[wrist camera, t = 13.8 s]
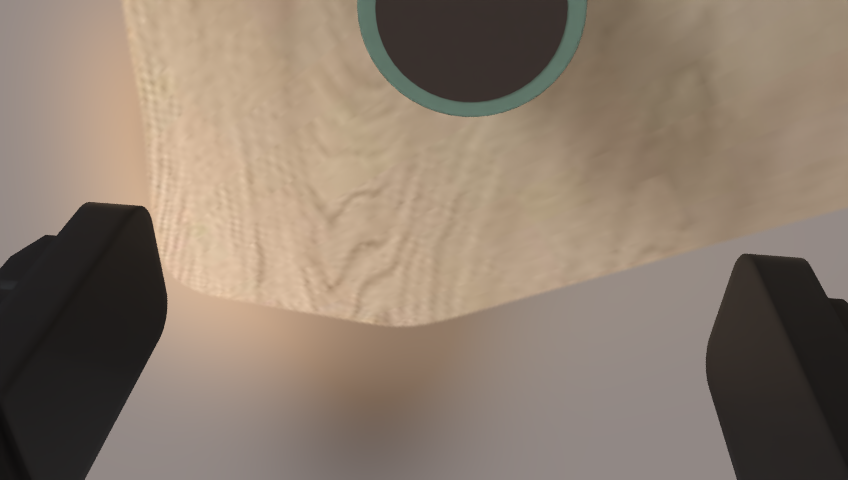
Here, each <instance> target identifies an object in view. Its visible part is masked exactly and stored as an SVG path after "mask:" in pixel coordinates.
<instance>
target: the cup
mask: <svg viewBox="0 0 848 480" xmlns="http://www.w3.org/2000/svg"><path fill="white" fill-rule="evenodd" d="M357 12H358V22H359V26H360V31H361V35H362V38H363V41H364V44H365V46H366V49H367V51H368V53H369V55H370V57H371V59H372V61H373V62H374V64H375V65H376V67H377V68H378V70H379V71H380V72H381V74H382V75H383V76H384V77H385V78H386V79H387V81H388V82H389V83H390V84H391V85H392V86H394V87H395V88H396V89H397V90H398V91H399V92H400V93H402V94H403V95H405V96H406V97H408V98H409V99H410V100H412V101H414V102H416V103H418V104H419V105H421V106H423V107H426V108H428V109H431V110H434V111H436V112H440V113H444V114H448V115H454V116H462V117H480V116H489V115H494V114H498V113H503V112H506V111H509V110H512V109H514V108H517V107H519V106H521V105H523V104H525V103H527V102H529V101H531V100H532V99H534V98H535V97H537V96H538V95H540V94H541V93H542V92H544V91H545V90H546V89H547V88H548V87H549V86H551V85H552V84H553V83H554V82H555V81H556V79H557V78H558V77H559V76H560V75H561V74H562V73H563V71H564V70H565V68H566V67H567V66H568V64H569V63H570V61H571V59H572V57H573V56H574V54H575V52H576V50H577V48H578V45H579V42H580V40H581V37H582V34H583V30H584V26H585V21H586V13H587V0H357Z"/></svg>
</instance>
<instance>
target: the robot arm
mask: <svg viewBox="0 0 848 480" xmlns="http://www.w3.org/2000/svg"><path fill="white" fill-rule="evenodd" d="M166 314H167V293H166V287H165V282H164V277H163V272H162V267H161V262H160V258H159V253H158V248H157V243H156V238H155V233H154V228H153V223H152V219H151V216H150V214H149V212H148V210H147V209H146V208H145V207H143V206H135V205H121V204H108V203H95V202H88V203H85V204H83V205H82V206H81V207H80V208H79V209H78V210H77V212H76V213H75V214H74V215H73V217H72V218H71V219H70V220H69V221H68V223H67V224H66V225H65V226H64V227H63V229H62V230H61V231H60V232H59V234H58V235H57V236H53V235H45V236H43V237H42V238H40V239H38V240H37V241H35V242H33V243H32V244H30V245H29V246H27V247H25V248H24V249H22V250H20V251H19V252H17V253H16V254H14V255H12V256H11V257H10V258H9V259H8V260H7V261H6V263H5V264H4V265H3V266H2V267H1V268H0V480H85V478H86V476H87V474H88V472H89V470H90V468H91V466H92V464H93V462H94V461H95V459H96V457H97V455H98V453H99V451H100V450H101V448H102V446H103V444H104V442H105V440H106V438H107V436H108V434H109V432H110V431H111V429H112V427H113V425H114V423H115V421H116V420H117V418H118V416H119V414H120V412H121V410H122V408H123V406H124V405H125V403H126V400H127V399H128V397H129V395H130V393H131V391H132V389H133V388H134V385H135V384H136V382H137V380H138V378H139V376H140V374H141V372H142V370H143V369H144V367H145V365H146V363H147V361H148V359H149V358H150V356H151V354H152V352H153V350H154V348H155V346H156V344H157V342H158V341H159V339H160V337H161V334H162V332H163V329H164V325H165V321H166ZM706 374H707V381H708V385H709V389H710V392H711V396H712V399H713V402H714V405H715V409H716V412H717V415H718V418H719V422H720V425H721V428H722V432H723V435H724V438H725V442H726V445H727V448H728V452H729V455H730V458H731V461H732V465H733V468H734V471H735V474H736V477H737V480H848V303H847V302H846V301H845V300H843V299H832V298H828V297H827V295H826V294H825V292H824V290H823V288H822V286H821V284H820V283H819V281H818V279H817V277H816V275H815V273H814V272H813V270H812V268H811V266H810V265H809V263H808V262H807V261H806V260H805V259H803V258H795V257H782V256H769V255H756V254H742V255H741V256H740V257H739V258H738V259H737V261H736V263H735V265H734V268H733V271H732V273H731V276H730V279H729V282H728V285H727V288H726V291H725V294H724V297H723V300H722V302H721V306H720V309H719V311H718V314H717V317H716V320H715V323H714V326H713V329H712V332H711V335H710V338H709V341H708V346H707V353H706Z"/></svg>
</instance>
